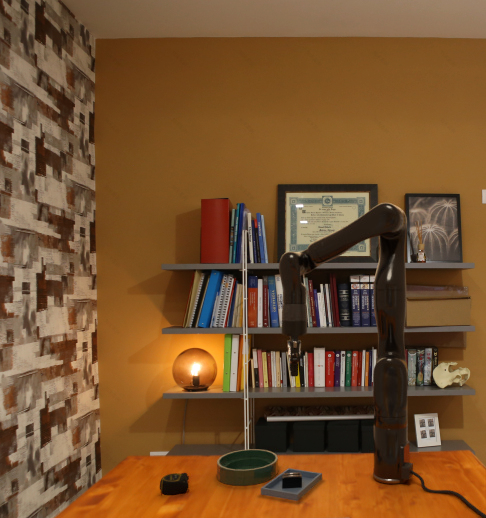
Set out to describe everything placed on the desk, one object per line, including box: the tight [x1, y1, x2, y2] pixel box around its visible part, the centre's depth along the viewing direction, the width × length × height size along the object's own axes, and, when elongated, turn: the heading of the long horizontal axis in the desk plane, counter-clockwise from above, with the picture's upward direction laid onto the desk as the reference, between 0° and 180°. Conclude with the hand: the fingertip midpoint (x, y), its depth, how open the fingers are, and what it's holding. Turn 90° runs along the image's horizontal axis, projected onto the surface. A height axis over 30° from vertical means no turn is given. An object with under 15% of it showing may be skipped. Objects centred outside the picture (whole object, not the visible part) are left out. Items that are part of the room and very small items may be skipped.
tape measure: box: [159, 472, 190, 496], centre depth 124 cm, size 7×7×4 cm
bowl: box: [216, 448, 279, 487], centre depth 135 cm, size 16×16×4 cm
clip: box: [282, 472, 302, 489], centre depth 127 cm, size 5×2×3 cm, turn 100°
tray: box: [260, 467, 323, 502], centre depth 127 cm, size 10×14×2 cm
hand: (293, 373), depth 146 cm, fingers open, 8 cm apart
